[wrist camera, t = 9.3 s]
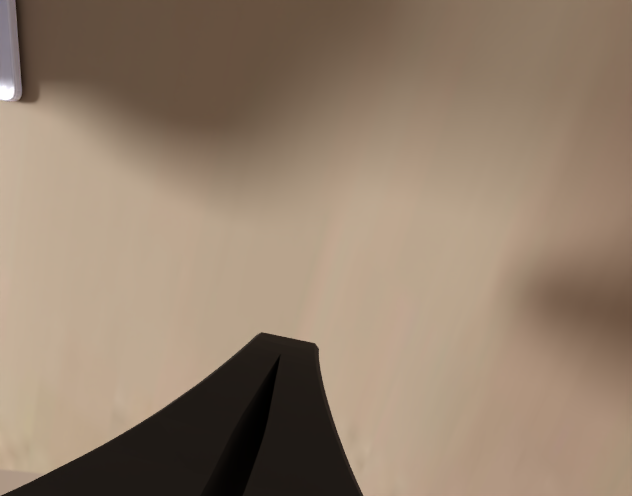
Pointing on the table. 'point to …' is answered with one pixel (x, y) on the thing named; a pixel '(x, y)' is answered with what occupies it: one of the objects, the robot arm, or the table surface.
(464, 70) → the table surface
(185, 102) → the table surface
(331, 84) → the table surface
